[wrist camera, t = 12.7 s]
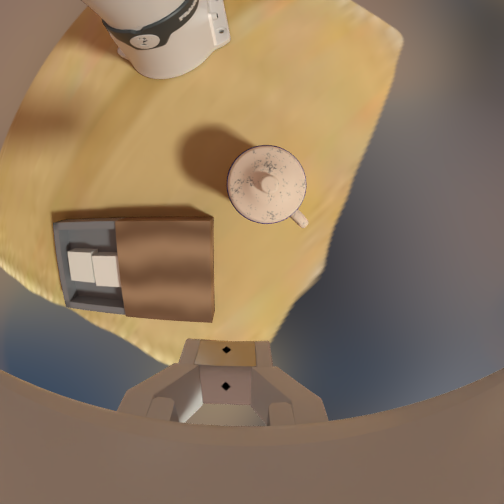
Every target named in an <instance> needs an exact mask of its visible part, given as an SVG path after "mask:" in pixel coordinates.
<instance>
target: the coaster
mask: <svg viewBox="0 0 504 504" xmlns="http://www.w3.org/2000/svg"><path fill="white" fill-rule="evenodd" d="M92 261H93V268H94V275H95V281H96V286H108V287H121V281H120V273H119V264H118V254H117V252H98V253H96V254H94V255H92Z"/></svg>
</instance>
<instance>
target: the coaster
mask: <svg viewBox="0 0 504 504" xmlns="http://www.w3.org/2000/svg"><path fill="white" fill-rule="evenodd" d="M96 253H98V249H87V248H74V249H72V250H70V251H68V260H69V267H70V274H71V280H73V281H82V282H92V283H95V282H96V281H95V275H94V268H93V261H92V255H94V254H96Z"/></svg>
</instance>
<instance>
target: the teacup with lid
mask: <svg viewBox="0 0 504 504" xmlns="http://www.w3.org/2000/svg"><path fill="white" fill-rule="evenodd" d="M227 192H228V196H229V199H230V201H231V203H232V205H233V206H234V208H235V209H236V210H237V211H238V212H239V213H240V214H241V215H242V216H244V217H245V218H247V219H249V220H251V221H253V222H257V223H262V224H271V223H277V222H280V221H283V220H285V219H287V218H288V217H291V218H292V219H293V220H294V221H295V222H296V223H297V224H298V225H299V226H300V227H301V228H304V227H306V226H307V225H308V220H307V219H306V217H305V216H304V215H303V214H302V213H301V212H300V211H299V210H298V208H299V207H300V205H301V203H302V201H303V199H304V196H305V193H306V177H305V173H304V170H303V168H302V166H301V164H300V163H299V161H298V160H297V159H296V158H295V157H294V156H293V155H292V154H291V153H290V152H288V151H286V150H285V149H283V148H280V147H277V146H272V145H260V146H256V147H252V148H250V149H248V150H246V151H244V152H243V153H242V154H240V155H239V156H238V157H237V158H236V159H235V161H234V162H233V164H232V165H231V167H230V169H229V172H228V176H227Z"/></svg>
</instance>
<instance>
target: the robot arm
mask: <svg viewBox="0 0 504 504" xmlns="http://www.w3.org/2000/svg"><path fill="white" fill-rule="evenodd" d="M81 1H83V2H84V3H85V4H86V5H87V6H89V7H90V8H91V9H92V10H93V11H94V12H96V13H97V14H98V15H99V16H100V17H101V18H102V22H103V24H104V26H105V27H106V29H107V31H108V32H109V33H110V36H111V37H112V39H113V40H114V41H115V43H116V44H117V46H118V47H119V48H118V54H119V55H120V56H121V57H123V58H125V59H127V60H129V61H130V62H131V63H132V65H133V67H134V68H135V69H136V70H137V71H138V72H139V73H140V74H142V75H144V76H146V77H149V78H154V79H167V78H173V77H177V76H180V75H183V74H185V73H187V72H189V71H191V70H193V69H194V68H196V67H197V66H199V65H200V64H201V63H202V62H204V61H205V60H206V58H207V57H208V56H209V55H210V54H211V53H212V52H213V51H214V50H216V49H218V48H220V47H222V46H224V45H226V44H227V43H228V42H229V41H230V39H231V37H230V32H229V27H228V22H227V17H226V12H225V7H224V3H223V0H81ZM220 32H224V33H220ZM203 403H206V404H234V405H235V404H236V405H251V407H252V408H253V410H254V411H255V412H256V413H257V414H258V416H259V417H260V418H261V419H262V420H263V422H264V423H265V424H266V425H267V426H218V425H203V424H191V423H185V422H186V421H187V420H188V419H189V418H190V417H191V416H192V415H193V414H194V413H195V412H196V411H197V410H198V409H199V408H200V407H201V406H202V405H203ZM0 504H504V368H502V369H501V370H499V371H497V372H495V373H493V374H491V375H488V376H486V377H484V378H482V379H480V380H477V381H475V382H473V383H471V384H468V385H466V386H463V387H461V388H458V389H456V390H453V391H450V392H448V393H445V394H442V395H439V396H436V397H433V398H430V399H427V400H424V401H421V402H417V403H414V404H411V405H407V406H403V407H400V408H395V409H391V410H387V411H383V412H379V413H374V414H369V415H365V416H359V417H353V418H347V419H342V420H335V421H328V418H327V415H326V411H325V408H324V405H323V402H322V399H321V398H319V397H318V396H317V395H315V394H314V393H312V392H311V391H309V390H308V389H306V388H305V387H304V386H302V385H301V384H300V383H298V382H297V381H296V380H294V379H293V378H292V377H290V376H289V375H288V374H286V373H285V372H283V371H282V370H281V369H280V368H278V367H273V363H272V356H271V350H270V343H269V341H219V340H203V339H187V340H186V342H185V345H184V348H183V351H182V354H181V357H180V360H179V363H174V364H172V365H170V366H169V367H167V368H166V369H164V370H162V371H160V372H159V373H157V374H155V375H153V376H152V377H150V378H148V379H147V380H145V381H143V382H141V383H140V384H138V385H136V386H134V387H133V388H131V389H129V390H127V392H126V394H125V395H124V397H123V400H122V401H121V403H120V406H119V408H118V410H117V411H113V410H109V409H104V408H100V407H97V406H93V405H90V404H86V403H83V402H80V401H76V400H73V399H70V398H67V397H64V396H61V395H58V394H56V393H53V392H50V391H48V390H45V389H42V388H39V387H37V386H35V385H32V384H30V383H28V382H25V381H23V380H21V379H19V378H17V377H14V376H12V375H10V374H8V373H6V372H4V371H2V370H0Z"/></svg>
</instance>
